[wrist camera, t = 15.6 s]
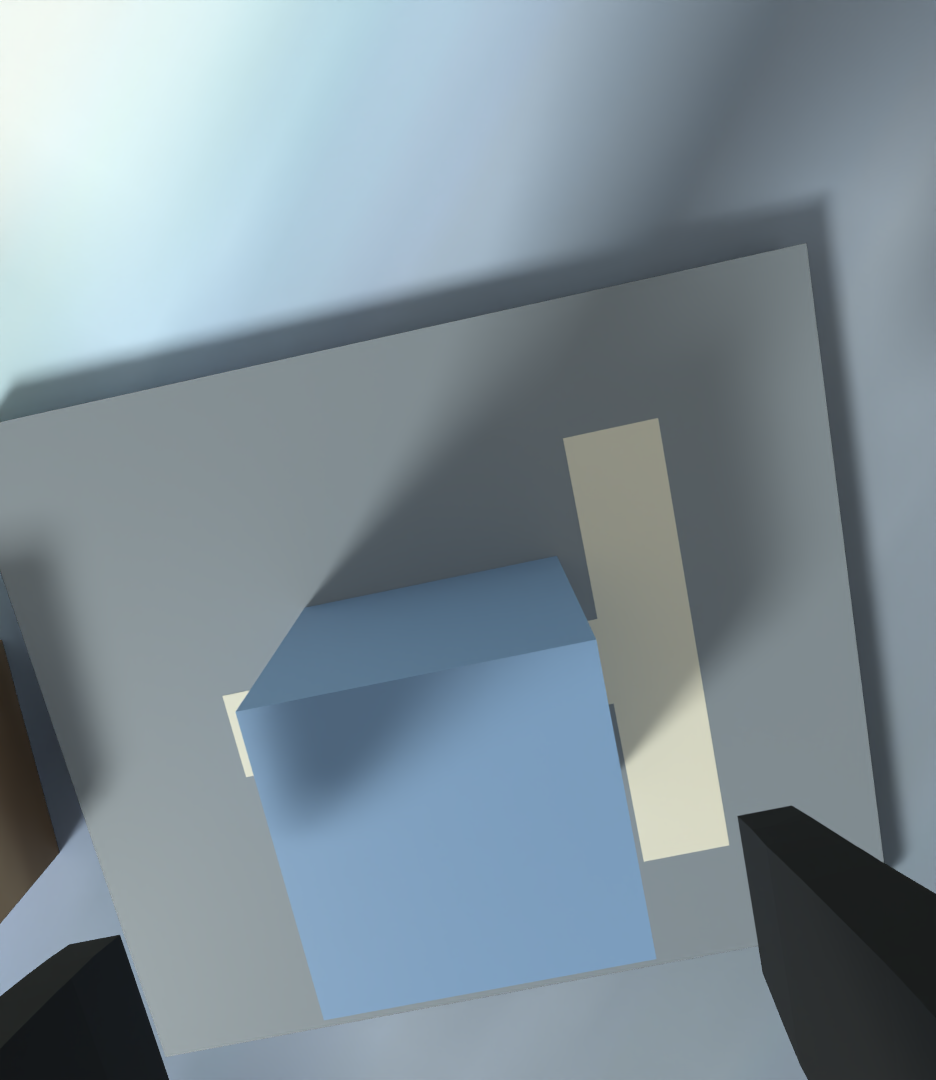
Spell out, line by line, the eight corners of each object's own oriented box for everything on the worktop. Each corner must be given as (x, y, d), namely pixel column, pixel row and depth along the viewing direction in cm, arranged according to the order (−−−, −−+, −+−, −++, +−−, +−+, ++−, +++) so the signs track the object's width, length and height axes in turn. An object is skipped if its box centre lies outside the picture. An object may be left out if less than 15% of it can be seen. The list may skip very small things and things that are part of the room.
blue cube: (556, 555, 16) (596, 639, 11) (601, 788, 17) (657, 959, 12) (304, 607, 16) (235, 711, 11) (364, 834, 17) (323, 1020, 12)
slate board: (785, 250, 16) (806, 242, 15) (869, 891, 19) (891, 921, 18) (-17, 428, 17) (-47, 432, 16) (180, 1021, 19) (165, 1057, 18)
